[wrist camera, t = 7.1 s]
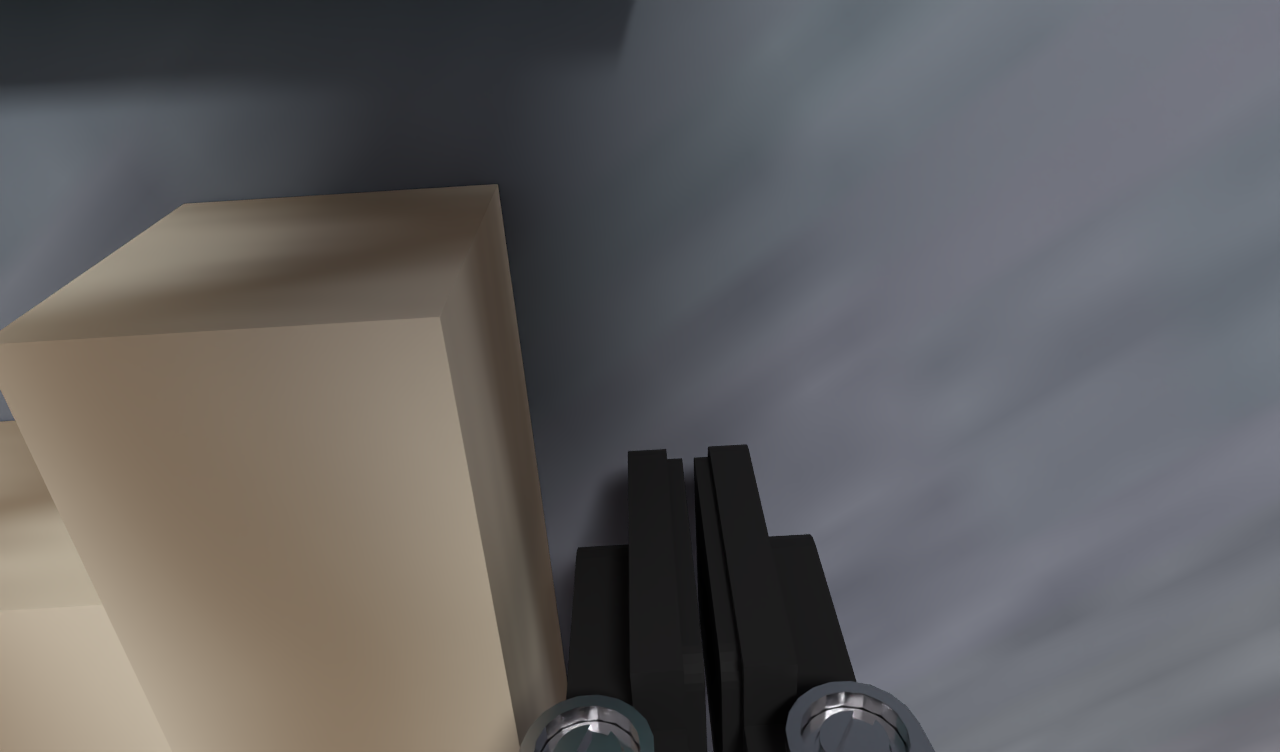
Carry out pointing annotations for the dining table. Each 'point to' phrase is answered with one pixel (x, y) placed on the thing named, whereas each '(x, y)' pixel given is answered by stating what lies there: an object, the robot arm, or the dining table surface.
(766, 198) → the dining table surface
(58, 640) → the t block
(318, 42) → the dining table surface
